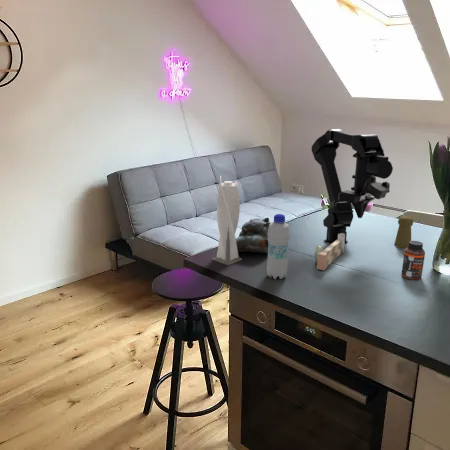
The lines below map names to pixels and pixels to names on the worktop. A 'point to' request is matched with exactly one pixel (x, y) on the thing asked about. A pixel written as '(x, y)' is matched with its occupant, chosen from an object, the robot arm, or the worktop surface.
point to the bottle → (278, 247)
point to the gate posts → (320, 248)
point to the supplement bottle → (413, 261)
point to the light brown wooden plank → (329, 255)
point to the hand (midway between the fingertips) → (359, 217)
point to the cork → (404, 232)
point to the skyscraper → (227, 222)
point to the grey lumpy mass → (254, 236)
